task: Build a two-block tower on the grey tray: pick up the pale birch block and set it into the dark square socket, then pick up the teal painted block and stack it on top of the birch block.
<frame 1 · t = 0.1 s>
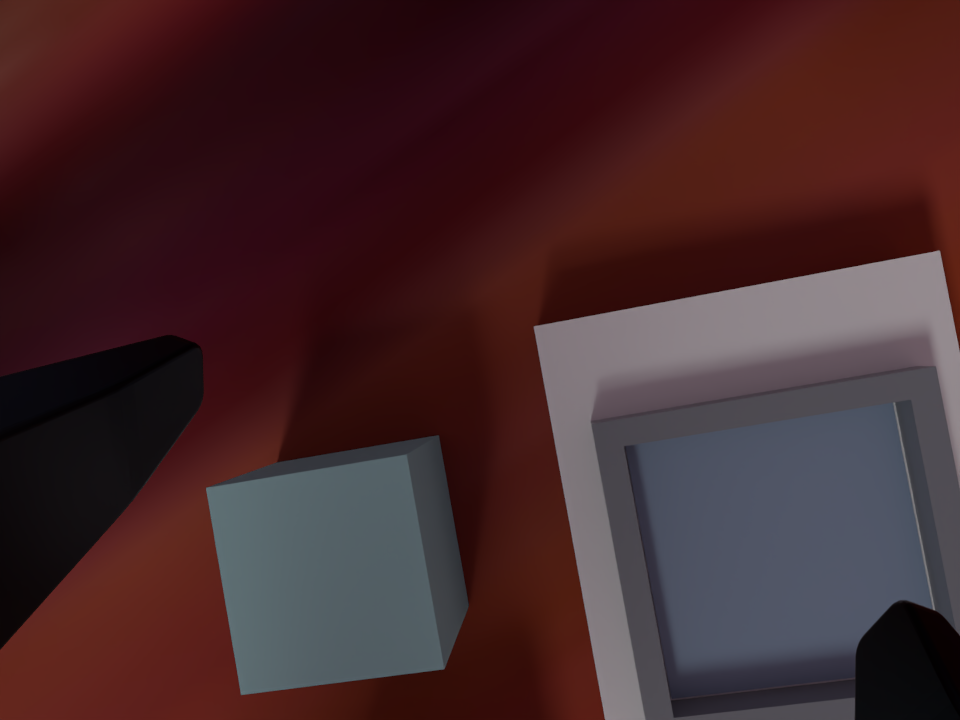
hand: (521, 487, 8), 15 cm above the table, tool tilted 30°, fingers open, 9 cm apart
teal block: (372, 532, 24), on the table
grey tray: (771, 595, 22), on the table
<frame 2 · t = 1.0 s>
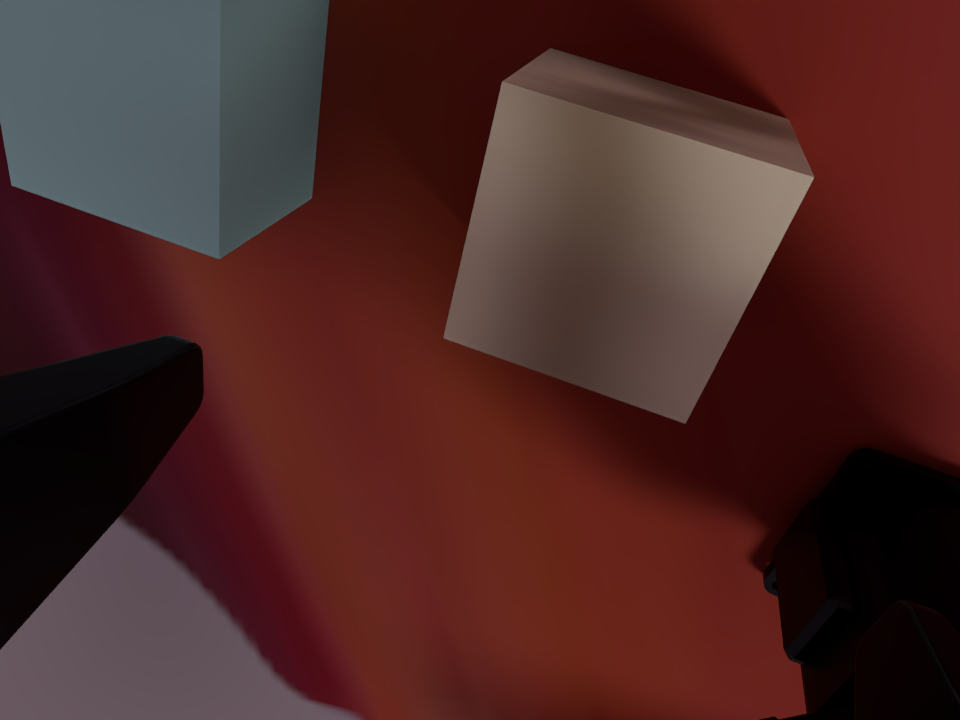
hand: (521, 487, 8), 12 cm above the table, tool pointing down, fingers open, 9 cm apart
teal block: (228, 68, 20), on the table
birch block: (626, 195, 18), on the table
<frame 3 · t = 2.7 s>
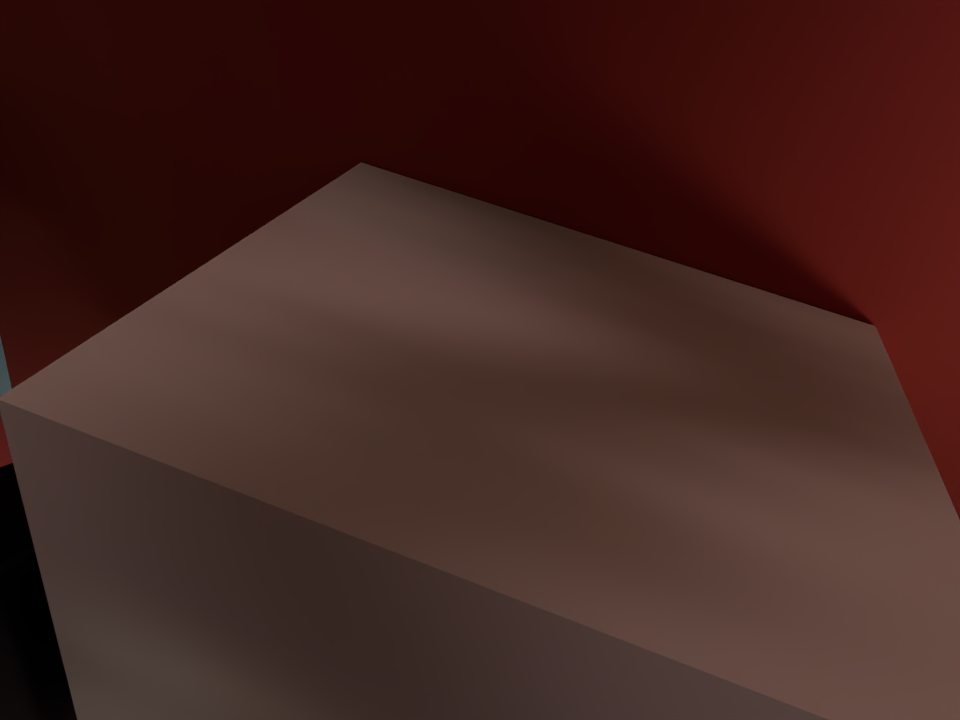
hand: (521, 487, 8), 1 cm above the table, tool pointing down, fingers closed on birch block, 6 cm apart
birch block: (538, 436, 9), on the table, touching gripper
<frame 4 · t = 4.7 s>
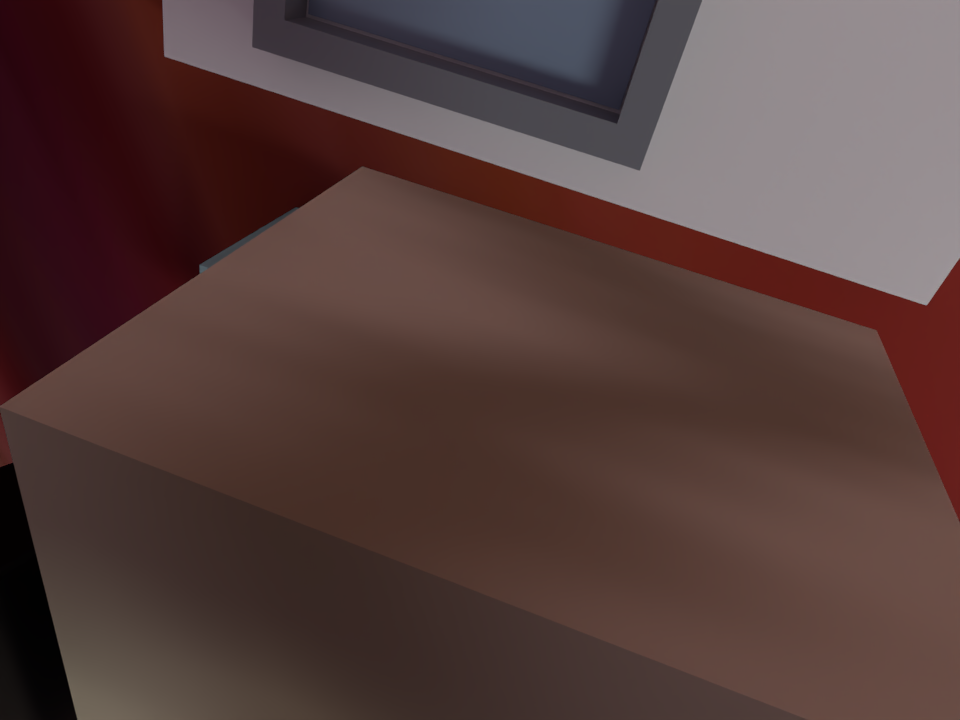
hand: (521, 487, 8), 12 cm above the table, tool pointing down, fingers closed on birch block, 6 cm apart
teal block: (370, 316, 23), on the table
birch block: (539, 440, 9), point 11 cm above the table, touching gripper
when the fingers open (5 cm above the table, at t = 7.0 s): birch block drops 2 cm, resting on grey tray.
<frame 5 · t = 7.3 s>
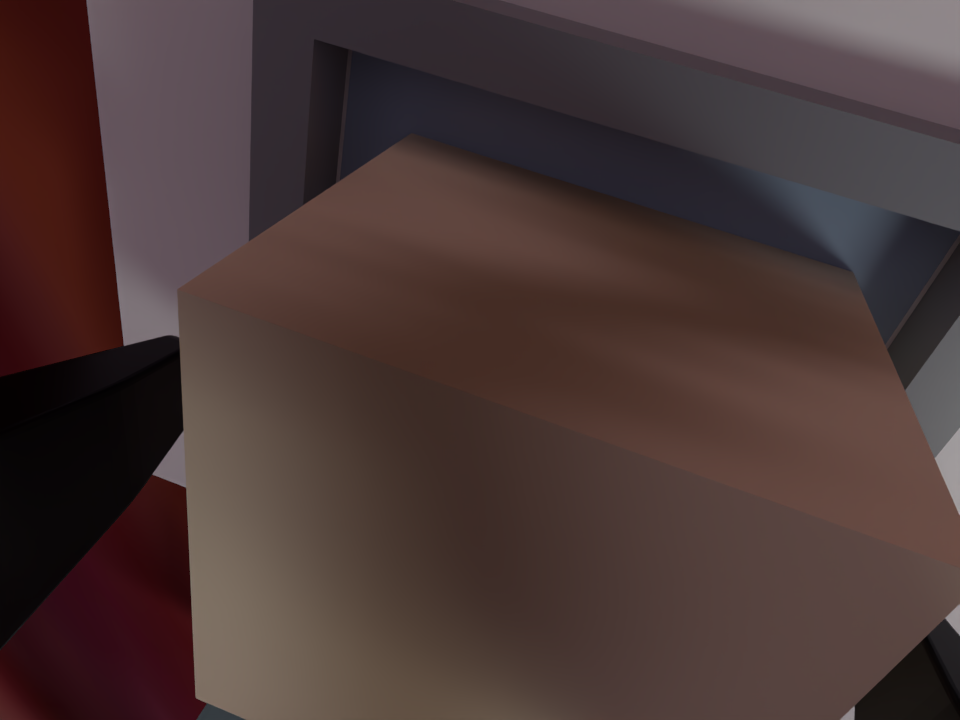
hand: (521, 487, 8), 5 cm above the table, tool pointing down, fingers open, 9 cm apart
teal block: (386, 659, 20), on the table
grey tray: (686, 350, 12), on the table
birch block: (560, 379, 11), point 2 cm above the table, touching grey tray
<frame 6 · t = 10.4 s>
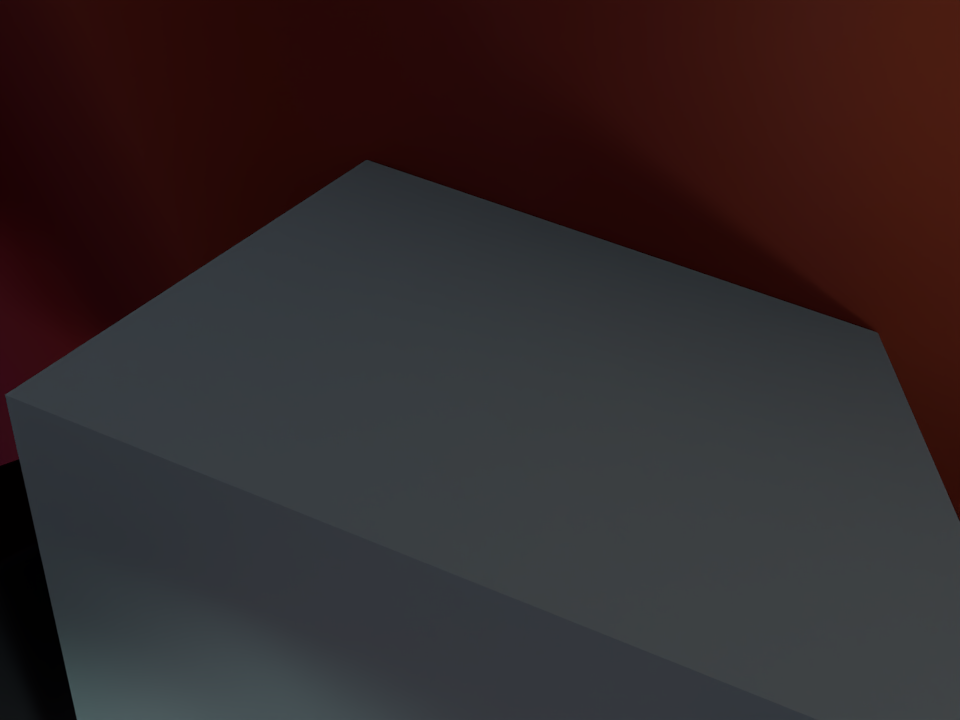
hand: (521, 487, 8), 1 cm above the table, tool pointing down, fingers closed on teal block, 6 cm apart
teal block: (538, 437, 9), on the table, touching gripper
when the fingers open (10 cm above the table, at t = 14.0 s): teal block drops 2 cm, resting on birch block.
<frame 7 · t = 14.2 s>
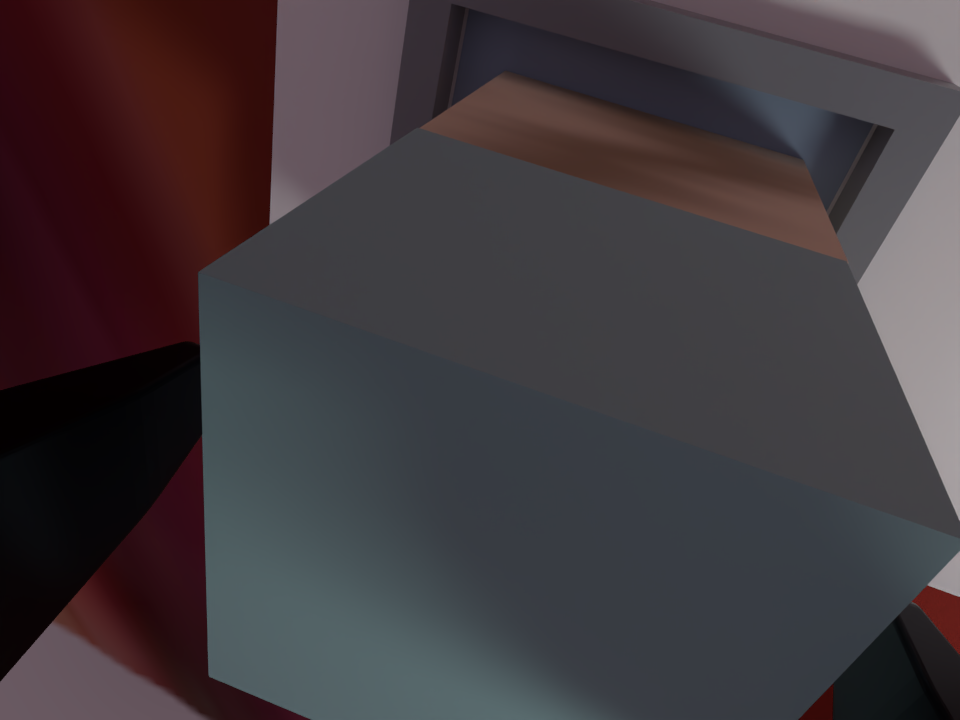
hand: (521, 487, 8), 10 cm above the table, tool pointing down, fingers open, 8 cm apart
teal block: (561, 368, 11), point 7 cm above the table, touching birch block
grey tray: (691, 241, 16), on the table
birch block: (602, 250, 15), point 2 cm above the table, touching grey tray, teal block
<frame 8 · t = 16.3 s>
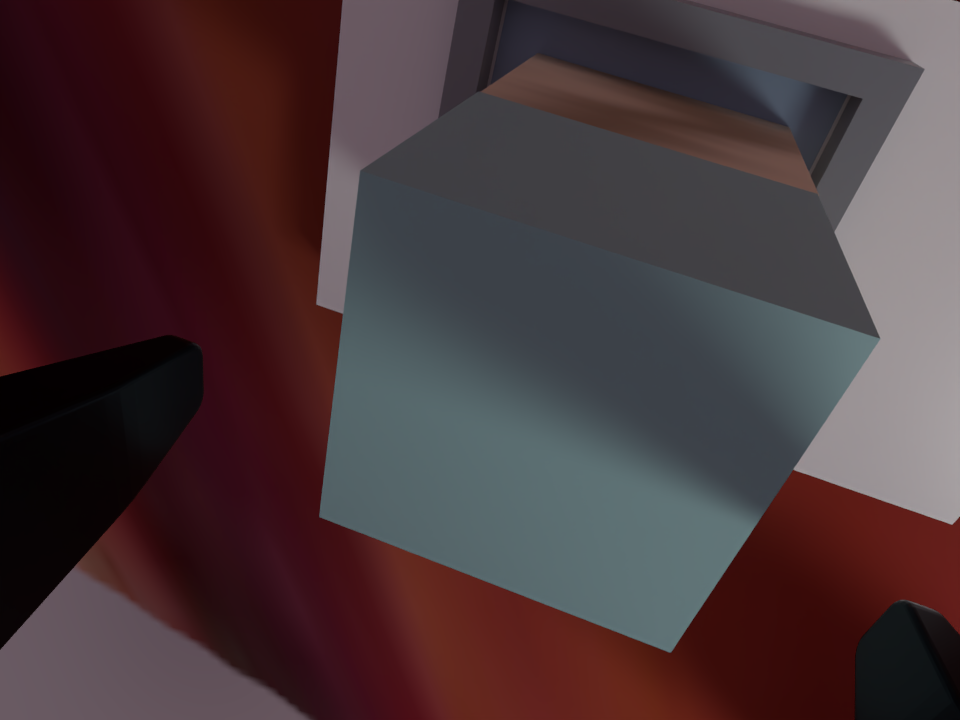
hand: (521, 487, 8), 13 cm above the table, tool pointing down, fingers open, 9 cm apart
teal block: (590, 291, 13), point 7 cm above the table, touching birch block
grey tray: (694, 204, 19), on the table
birch block: (618, 209, 17), point 2 cm above the table, touching grey tray, teal block
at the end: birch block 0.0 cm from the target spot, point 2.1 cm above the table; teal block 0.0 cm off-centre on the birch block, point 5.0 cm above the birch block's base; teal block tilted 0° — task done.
